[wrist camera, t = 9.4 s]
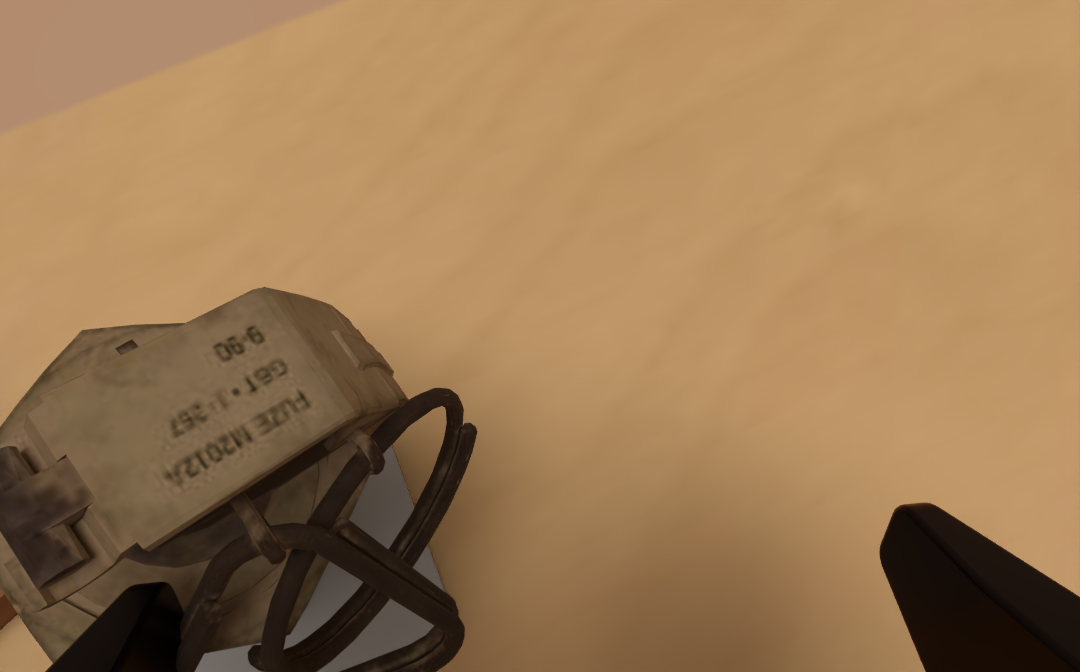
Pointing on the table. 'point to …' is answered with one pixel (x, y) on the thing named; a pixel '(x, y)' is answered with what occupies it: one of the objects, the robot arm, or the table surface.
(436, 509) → the grenade model
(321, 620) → the felt mat
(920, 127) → the table surface
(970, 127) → the table surface
